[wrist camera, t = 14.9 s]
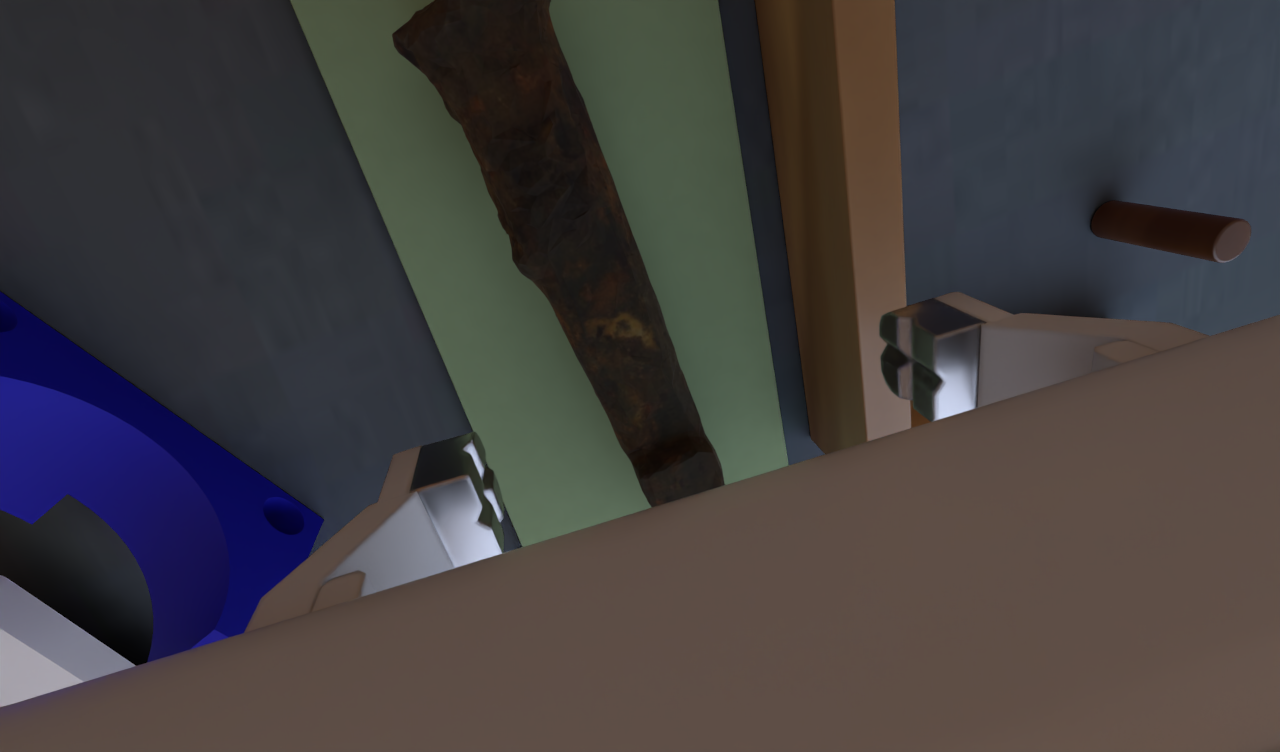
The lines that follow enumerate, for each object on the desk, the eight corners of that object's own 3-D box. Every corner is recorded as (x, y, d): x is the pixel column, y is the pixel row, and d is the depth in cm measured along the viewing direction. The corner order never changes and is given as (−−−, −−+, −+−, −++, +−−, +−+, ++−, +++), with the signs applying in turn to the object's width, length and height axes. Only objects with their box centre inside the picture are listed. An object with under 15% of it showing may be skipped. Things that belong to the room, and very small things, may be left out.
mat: (692, -134, 16) (697, -139, 16) (791, 505, 26) (795, 511, 25) (277, -37, 15) (272, -40, 15) (542, 590, 25) (544, 597, 24)
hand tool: (400, 29, 16) (363, 1, 12) (542, -24, 16) (557, -69, 12) (631, 543, 24) (658, 634, 20) (723, 505, 24) (768, 587, 20)
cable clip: (-157, 364, 16) (-476, 488, 11) (-45, 260, 16) (-317, 335, 11) (232, 593, 22) (144, 752, 16) (324, 519, 21) (265, 657, 16)
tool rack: (1211, -510, 15) (1469, -735, 11) (1106, 340, 26) (1219, 383, 22) (700, -414, 14) (782, -627, 10) (810, 439, 24) (871, 504, 20)
